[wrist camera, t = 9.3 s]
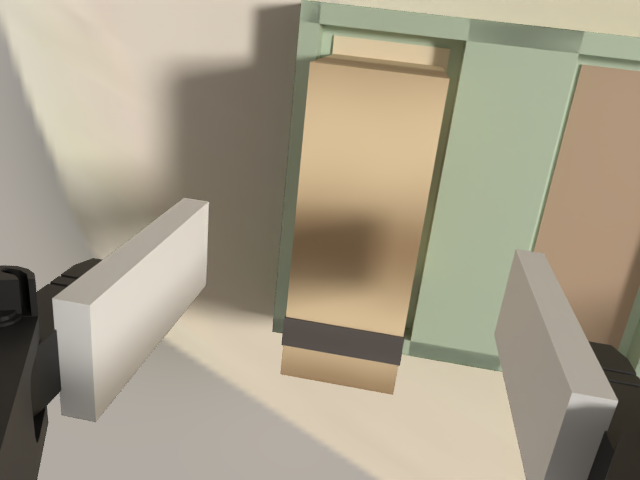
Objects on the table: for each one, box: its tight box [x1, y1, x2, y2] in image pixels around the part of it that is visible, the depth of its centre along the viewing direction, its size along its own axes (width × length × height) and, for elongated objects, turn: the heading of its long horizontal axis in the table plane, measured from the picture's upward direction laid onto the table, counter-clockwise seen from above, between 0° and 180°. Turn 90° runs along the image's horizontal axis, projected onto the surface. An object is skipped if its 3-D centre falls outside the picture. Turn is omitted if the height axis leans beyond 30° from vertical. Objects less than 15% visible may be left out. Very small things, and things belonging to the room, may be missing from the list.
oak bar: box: [281, 54, 450, 395], centre depth 23 cm, size 12×5×6 cm, turn 174°
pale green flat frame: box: [272, 0, 640, 378], centre depth 26 cm, size 15×17×2 cm
